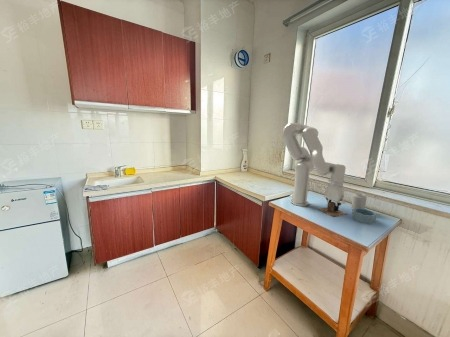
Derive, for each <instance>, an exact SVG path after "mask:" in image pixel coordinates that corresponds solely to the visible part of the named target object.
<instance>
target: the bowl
mask: <svg viewBox="0 0 450 337" xmlns="http://www.w3.org/2000/svg"><path fill="white" fill-rule="evenodd" d="M377 216H378V215H377V213H376V212H375V211H372V210H369V209H367V208H365V209H362V208H355V209H353V210H352V214H351V217H352V219H353V220H354V221H357V222H359V223H361V224H365V225H366V224H367V225H372V224H376V221H377Z"/></svg>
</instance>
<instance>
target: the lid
mask: <svg viewBox="0 0 450 337" xmlns="http://www.w3.org/2000/svg"><path fill="white" fill-rule="evenodd" d="M327 205H328V206H326V207H322V208H318V211H320V212H323V213H325V214H326V215H328V216H330V217H333V218H337V217H340V216H345V215H347V213H346V212H345V211H341V210H339V209H338V211H334V206H335V205H336V203H335V201H331V202H329V204H328V203H327ZM327 207H328V208H327Z"/></svg>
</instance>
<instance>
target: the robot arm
mask: <svg viewBox="0 0 450 337" xmlns="http://www.w3.org/2000/svg"><path fill="white" fill-rule="evenodd" d="M281 135H282V139H283V142H284V144H285V146H286V150H287V151H288V152H289V156H290V157H291V159H292V160H293V161H298V163H296V165H295V167H294V184H293V193H292V194H290V195H289V197H290V198H291V199H290V203H291V204H292V203H293V205H294V204H295V206H298V207H307V206H309V203H310V202H309V201H308V193H309V182H310V173H311V172H312V171H313V170H315V171H316V173H317V174H318V175H320V176H327V175H329V174H330V179H328V182H329V183H328V184H327V187H326V189H325V194H324V196H323V197H324V198H325V200H326V202H327V206H326V207H327V208H328V204H329V202H335V203H336V205H335V206H334V211H338V210H339V207H340V206H341V205H344V204H346V202H345V200H344V195H345V187H344V182H345V174H346V169H347V168H346V166H345V165H343V164H339V163H332V162H328V161H327V162H326V161H325V158H324V156H323V145H322V142H321V141H320V138H319V137H318V136H319V131H318V129H317V128H315V127H312V126H309V125H306V124H303V123H300V122H299V123H298V122H290V123H288V124H286V125H285V126H284V127H283V130H282V133H281ZM296 136H300V137H302V138H303V139H302V140H303V141H304V143H305V145H306V147H307V148H306V147H303V146H301V145H300V144H299V141H298V139H297V138H296ZM307 149H308V150H307Z"/></svg>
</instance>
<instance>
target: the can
mask: <svg viewBox="0 0 450 337" xmlns="http://www.w3.org/2000/svg"><path fill="white" fill-rule="evenodd" d="M367 199H368V197H367V194H366V193H362V192H355V193H354V194H353V195H352V201H351V210H352V211H353V209H355V208H362V209H366V203H367Z"/></svg>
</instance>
